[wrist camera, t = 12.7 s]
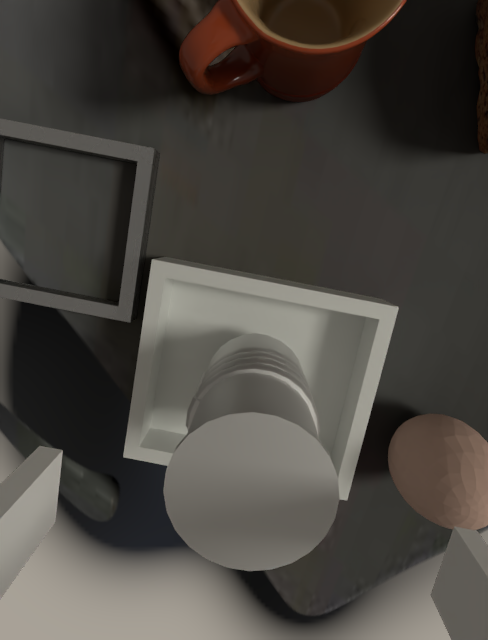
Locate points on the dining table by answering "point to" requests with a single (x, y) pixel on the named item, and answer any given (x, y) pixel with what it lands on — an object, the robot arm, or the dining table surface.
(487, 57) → the bread
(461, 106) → the dining table surface
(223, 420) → the grey tall round piece
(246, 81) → the mug
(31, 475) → the robot arm
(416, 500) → the egg
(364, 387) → the bin
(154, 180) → the grey square frame
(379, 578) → the dining table surface
